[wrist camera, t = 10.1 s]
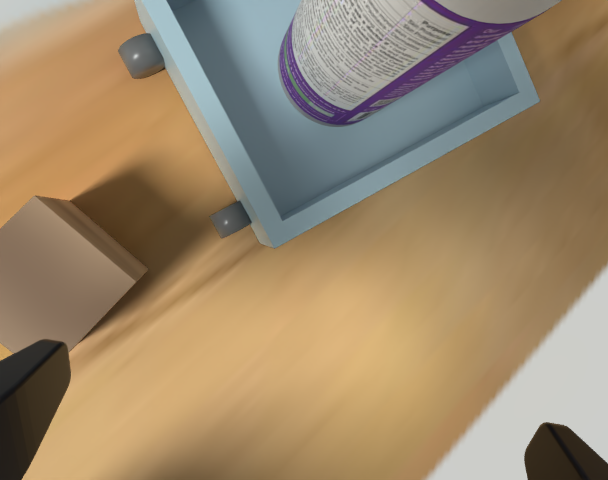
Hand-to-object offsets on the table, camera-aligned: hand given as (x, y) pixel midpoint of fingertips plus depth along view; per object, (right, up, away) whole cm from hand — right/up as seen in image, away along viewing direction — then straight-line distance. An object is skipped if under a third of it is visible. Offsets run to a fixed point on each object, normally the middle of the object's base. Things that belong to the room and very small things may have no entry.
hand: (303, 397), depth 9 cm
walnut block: (-9, +2, +9) cm, 13 cm away
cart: (+1, +10, +11) cm, 15 cm away
